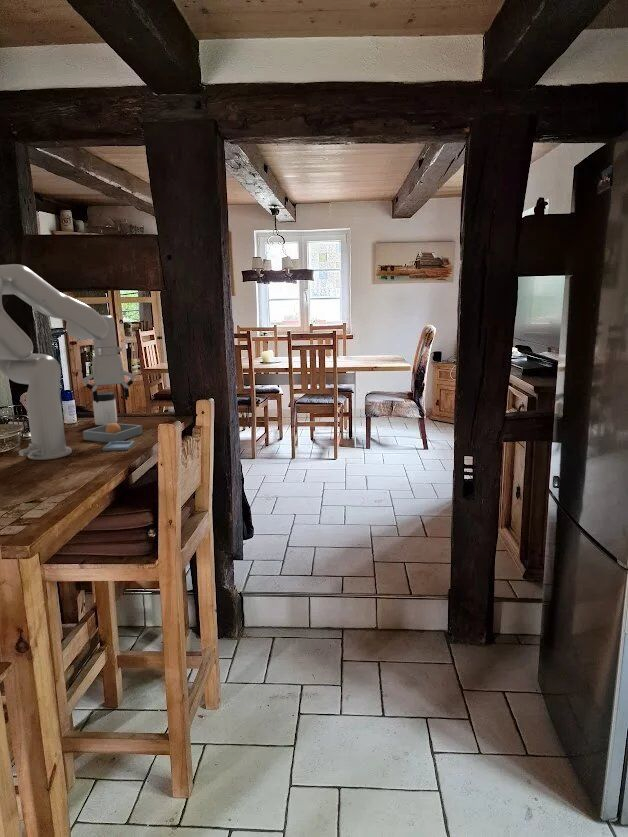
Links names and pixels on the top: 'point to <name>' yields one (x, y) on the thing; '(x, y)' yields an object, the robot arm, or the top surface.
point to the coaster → (118, 445)
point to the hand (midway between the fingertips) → (111, 400)
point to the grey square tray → (102, 436)
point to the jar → (105, 408)
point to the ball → (113, 428)
